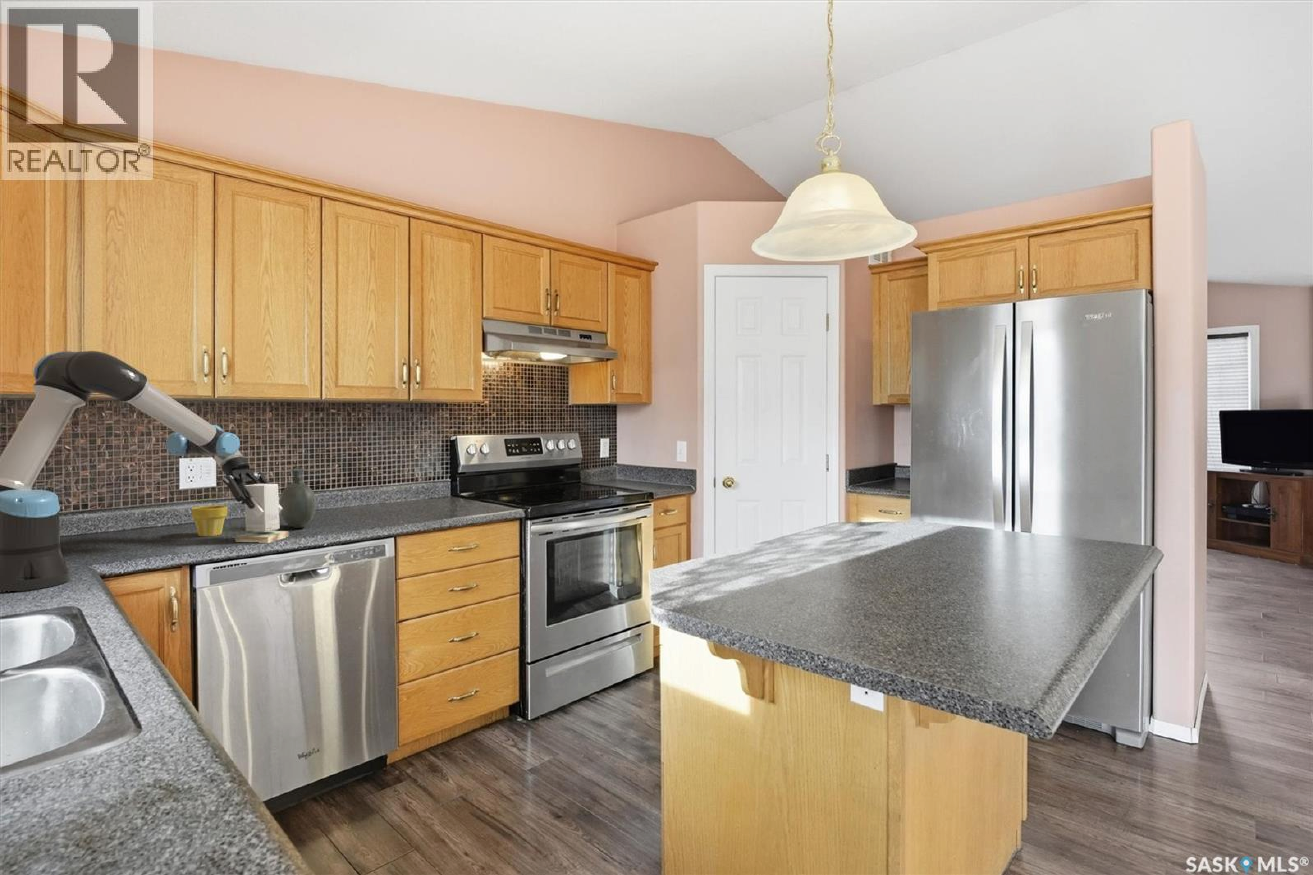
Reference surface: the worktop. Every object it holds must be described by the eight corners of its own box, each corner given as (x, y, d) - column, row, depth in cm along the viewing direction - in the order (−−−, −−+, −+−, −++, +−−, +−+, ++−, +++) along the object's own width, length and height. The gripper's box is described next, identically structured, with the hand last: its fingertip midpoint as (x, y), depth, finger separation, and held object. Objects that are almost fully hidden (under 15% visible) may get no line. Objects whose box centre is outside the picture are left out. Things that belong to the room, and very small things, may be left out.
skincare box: (280, 529, 223) (280, 483, 223) (264, 532, 216) (264, 485, 216) (260, 528, 225) (259, 482, 225) (243, 531, 219) (243, 484, 218)
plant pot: (218, 531, 237) (217, 504, 236) (233, 533, 231) (233, 506, 231) (186, 535, 228) (185, 507, 227) (201, 538, 222) (200, 510, 222)
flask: (282, 532, 234) (281, 471, 233) (278, 525, 248) (277, 467, 247) (318, 529, 240) (317, 469, 239) (313, 522, 254) (312, 466, 254)
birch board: (267, 543, 215) (267, 536, 215) (235, 542, 216) (235, 536, 216) (288, 536, 226) (288, 530, 226) (258, 536, 227) (258, 530, 227)
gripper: (252, 468, 234) (288, 516, 230) (199, 473, 215) (237, 525, 211) (263, 453, 232) (300, 501, 228) (211, 457, 214) (250, 509, 209)
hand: (270, 512), depth 220 cm, fingers closed on skincare box, 7 cm apart
